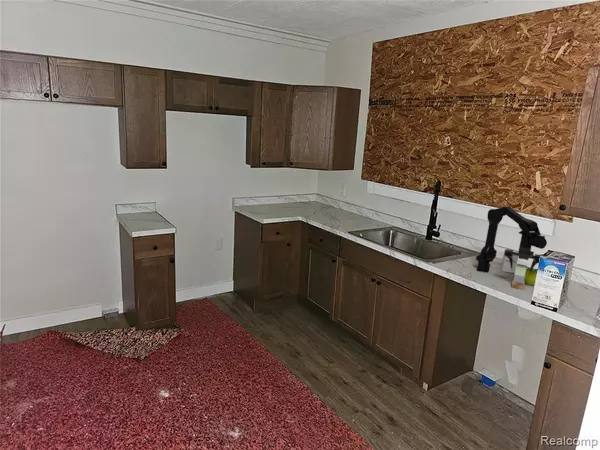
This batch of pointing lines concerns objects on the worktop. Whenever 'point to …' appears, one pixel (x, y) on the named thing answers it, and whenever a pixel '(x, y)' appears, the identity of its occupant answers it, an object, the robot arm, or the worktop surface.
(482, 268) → the robot arm
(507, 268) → the supplement box
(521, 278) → the tower mid
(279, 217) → the worktop surface
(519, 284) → the tower base
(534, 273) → the fruit
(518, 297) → the worktop surface
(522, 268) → the sage cube
